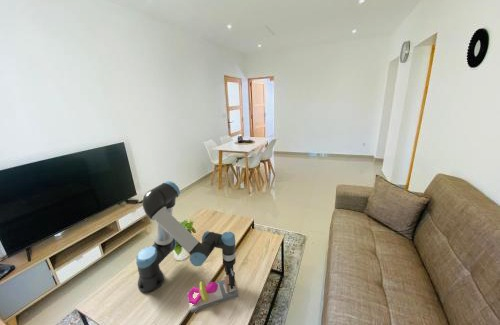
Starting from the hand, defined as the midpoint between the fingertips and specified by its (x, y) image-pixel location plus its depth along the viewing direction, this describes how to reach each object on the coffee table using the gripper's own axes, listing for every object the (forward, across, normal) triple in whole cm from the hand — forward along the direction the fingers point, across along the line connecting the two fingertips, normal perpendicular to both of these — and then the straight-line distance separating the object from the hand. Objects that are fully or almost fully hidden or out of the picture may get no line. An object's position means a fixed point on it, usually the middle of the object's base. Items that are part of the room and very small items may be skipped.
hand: (230, 287), depth 131 cm
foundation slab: (+2, 0, +10) cm, 10 cm away
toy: (0, 0, +16) cm, 16 cm away
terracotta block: (0, 0, 0) cm, 0 cm away
